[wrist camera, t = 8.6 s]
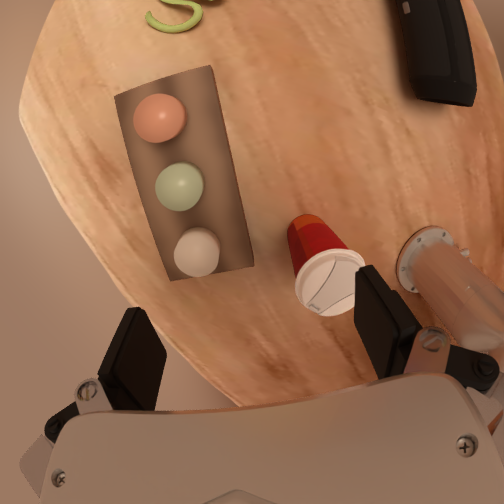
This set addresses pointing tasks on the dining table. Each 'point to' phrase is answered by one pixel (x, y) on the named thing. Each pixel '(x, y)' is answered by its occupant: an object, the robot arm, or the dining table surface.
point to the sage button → (180, 186)
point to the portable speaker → (438, 51)
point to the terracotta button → (159, 118)
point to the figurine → (181, 27)
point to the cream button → (197, 252)
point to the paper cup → (322, 267)
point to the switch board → (199, 153)
